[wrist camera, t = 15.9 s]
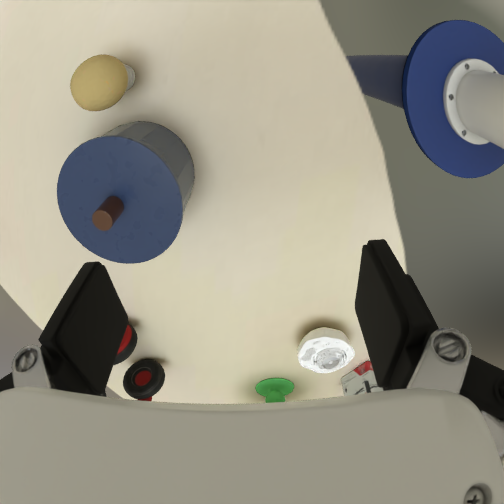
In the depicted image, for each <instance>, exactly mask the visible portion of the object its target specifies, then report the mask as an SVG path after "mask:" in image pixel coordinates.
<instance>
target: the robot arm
mask: <svg viewBox="0 0 504 504" xmlns="http://www.w3.org/2000/svg"><path fill="white" fill-rule="evenodd" d="M443 103H444V109H445V114H446V117H447V119H448V122H449V124H450V125H451V127H452V129H453V130H454V131H455V132H456V134H457V135H459V136H460V137H461V138H462V139H464V140H466V141H468V142H470V143H473V144H478V145H480V144H486V143H488V142H492V143H494V144H495V145H497V146H499V147H501V148H503V149H504V75H501V74H499V73H498V72H497V71H496V70H495V69H494V68H493V67H492V66H491V65H490V64H488V63H487V62H485V61H482V60H479V59H465V60H462V61H460V62H458V63H457V64H456V65H455V66H454V67H453V68H452V69H451V70H450V72H449V73H448V76H447V78H446V81H445V85H444V90H443ZM355 311H356V314H357V317H358V321H359V324H360V327H361V330H362V334H363V337H364V340H365V344H366V347H367V350H368V354H369V357H370V361H371V364H372V368H373V371H374V375H375V379H376V382H377V385H378V387H383V391H380V392H371V393H365V394H358V395H350V396H342V397H333V398H323V399H313V400H303V401H290V402H275V403H253V404H189V403H167V402H152V401H140V400H129V399H119V398H111V397H103V396H100V395H101V394H103V393H104V391H105V388H106V385H107V382H108V379H109V376H110V373H111V370H112V367H113V364H114V361H115V358H116V356H117V353H118V350H119V347H120V344H121V342H122V339H123V336H124V334H125V331H126V328H127V326H128V316H127V314H126V312H125V309H124V307H123V305H122V303H121V301H120V299H119V297H118V295H117V292H116V290H115V288H114V286H113V283H112V281H111V279H110V277H109V274H108V272H107V270H106V268H105V266H104V265H102V264H101V263H100V262H87V263H85V264H84V265H83V266H82V268H81V269H80V271H79V272H78V274H77V275H76V277H75V278H74V280H73V282H72V283H71V285H70V286H69V288H68V290H67V291H66V293H65V294H64V296H63V298H62V299H61V301H60V303H59V304H58V306H57V308H56V309H55V311H54V313H53V314H52V316H51V318H50V320H49V321H48V323H47V325H46V327H45V329H44V330H43V332H42V334H41V336H40V338H39V341H40V343H41V344H42V346H41V348H39V347H38V346H37V345H27V346H25V347H23V348H22V349H20V350H19V351H18V352H17V353H16V355H15V356H14V359H13V361H12V367H11V368H12V372H11V373H10V374H8V375H7V376H5V377H4V378H2V379H1V380H0V504H504V370H502V369H500V368H498V367H496V366H493V365H491V364H489V363H487V362H485V361H483V360H481V359H479V358H477V357H475V356H473V355H471V345H470V342H469V340H468V339H467V337H466V336H465V335H463V334H462V333H461V332H459V331H457V330H456V329H451V328H441V329H439V328H438V326H437V324H436V322H435V320H434V318H433V316H432V314H431V312H430V310H429V309H428V307H427V305H426V303H425V301H424V299H423V297H422V296H421V294H420V292H419V290H418V288H417V286H416V285H415V283H414V281H413V279H412V278H411V276H410V275H408V274H405V273H404V271H403V269H402V267H401V266H400V264H399V262H398V260H397V259H396V257H395V255H394V254H393V252H392V250H391V249H390V247H389V245H388V244H387V242H386V241H385V240H384V239H381V240H369V241H368V243H367V245H363V248H362V256H361V264H360V272H359V279H358V286H357V293H356V299H355Z"/></svg>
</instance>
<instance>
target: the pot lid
mask: <svg viewBox="0 0 504 504" xmlns="http://www.w3.org/2000/svg"><path fill="white" fill-rule="evenodd" d="M57 199H58V205H59V209H60V212H61V215H62V217H63V220H64V222H65V224H66V225H67V227H68V229H69V230H70V232H71V233H72V235H73V236H74V237H75V238H76V239H77V240H78V241H79V242H80V243H81V244H82V245H83V246H84V247H85V248H87V249H88V250H89V251H91V252H93V253H94V254H96V255H98V256H100V257H102V258H104V259H107V260H110V261H114V262H118V263H126V264H127V263H141V262H145V261H148V260H151V259H153V258H155V257H157V256H158V255H160V254H162V253H163V252H164V251H165V250H166V249H168V247H169V246H170V245H171V244H172V243H173V241H174V240H175V238H176V236H177V234H178V232H179V230H180V227H181V223H182V218H183V199H182V193H181V190H180V186H179V184H178V181H177V179H176V177H175V175H174V173H173V172H172V170H171V168H170V167H169V166H168V164H167V163H166V162H165V161H164V160H163V158H162V157H161V156H160V155H159V154H158V153H156V152H155V151H154V150H152V149H151V148H150V147H148V146H146V145H145V144H143V143H141V142H139V141H137V140H134V139H131V138H128V137H124V136H116V135H110V136H101V137H97V138H94V139H91V140H89V141H87V142H85V143H83V144H81V145H80V146H79V147H77V148H76V149H75V150H74V151H73V152H72V153H71V154H70V155H69V156H68V158H67V159H66V161H65V162H64V164H63V166H62V168H61V171H60V174H59V178H58V183H57Z"/></svg>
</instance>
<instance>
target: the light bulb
mask: <svg viewBox="0 0 504 504" xmlns="http://www.w3.org/2000/svg"><path fill="white" fill-rule="evenodd" d="M134 81H135V73H134V71H133V69H132V68H131V67H130V66H128V65H125V64H123V63H122V62H121V61H120V60H118V59H117V58H115V57H113V56H110V55H97V56H93V57H91V58H89V59H87V60H86V61H84V62H83V63H82V64H81V65H80V66H79V67H78V68H77V69H76V71H75V72H74V74H73V76H72V79H71V84H70V87H71V92H72V96H73V98H74V100H75V101H76V103H77V104H78V105H79V106H80V107H82V108H83V109H85V110H89V111H101V110H105V109H107V108H109V107H111V106H113V105H114V104H116V103H117V102H118V101H119V100H120V99H121V97H122V96H123V95H124V93H125V91H127V90H128V89H130V88H131V87H132V85H133V83H134Z"/></svg>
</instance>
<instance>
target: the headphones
mask: <svg viewBox="0 0 504 504" xmlns="http://www.w3.org/2000/svg"><path fill="white" fill-rule="evenodd" d="M136 344H137V333H136V331H135V330H134V328H133V327H132V326H131V325H129V324H128V326H127V328H126V331H125V334H124V336H123V339H122V342H121V344H120V347H119V350H118V353H117V356H116V358H115V361H114V364H113V365H116V364H119V363H121V362H123V361H124V360H126V359H127V358H128V357H129V356H130V355H131V354H132V352H133V351H134V349H135V347H136ZM164 380H165V373H164V369H163V368H162V366H161V365H160V364H159V363H158V362H156V361H154V360H149V359H145V360H141V361H138V362H136V363H134V364H133V365H132V366H131V367H130V368H129V369H128V370H127V371H126V373H125V376H124V379H123V387H124V389H125V391H126V392H127V393H128V394H129V395H130V396H131V397H133V398H135V399H138V400H140V401H151V400H152V396H153V395H155V394H156V393H157V392H158V391H159V390H160V389H161V387H162V386H163V383H164ZM100 396H103V397H106V393H105V391H104V393H103V394H101V395H100Z"/></svg>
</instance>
